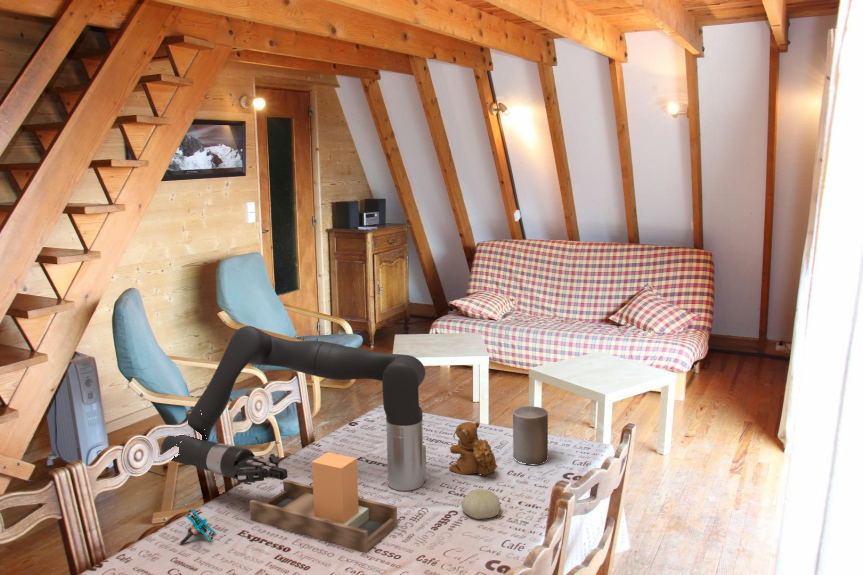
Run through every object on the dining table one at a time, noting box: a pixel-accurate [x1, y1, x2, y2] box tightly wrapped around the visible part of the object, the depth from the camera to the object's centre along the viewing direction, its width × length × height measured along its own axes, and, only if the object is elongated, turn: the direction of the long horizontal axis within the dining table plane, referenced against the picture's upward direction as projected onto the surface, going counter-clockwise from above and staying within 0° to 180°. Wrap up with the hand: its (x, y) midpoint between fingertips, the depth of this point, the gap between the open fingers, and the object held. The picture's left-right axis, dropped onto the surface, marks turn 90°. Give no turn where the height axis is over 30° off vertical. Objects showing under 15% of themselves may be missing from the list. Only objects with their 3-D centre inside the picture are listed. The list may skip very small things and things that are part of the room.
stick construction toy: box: [179, 508, 216, 546], centre depth 156 cm, size 12×7×8 cm
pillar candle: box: [512, 405, 549, 465], centre depth 194 cm, size 10×10×15 cm
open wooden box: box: [249, 479, 398, 554], centre depth 161 cm, size 32×13×4 cm, turn 62°
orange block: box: [311, 451, 359, 524], centre depth 158 cm, size 8×6×13 cm
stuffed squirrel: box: [449, 421, 498, 476], centre depth 187 cm, size 10×14×13 cm
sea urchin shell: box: [461, 488, 501, 520], centre depth 165 cm, size 9×8×8 cm
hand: (285, 474), depth 164 cm, fingers closed
